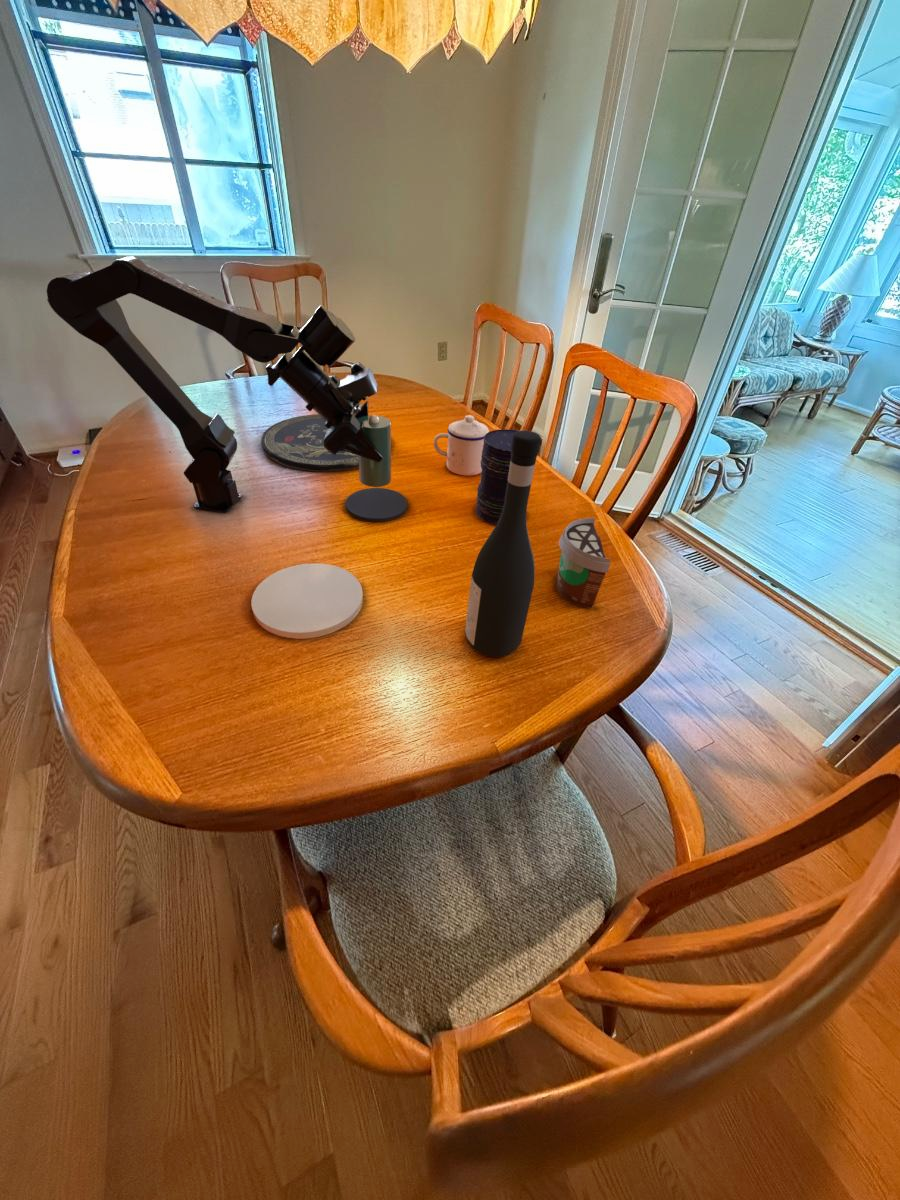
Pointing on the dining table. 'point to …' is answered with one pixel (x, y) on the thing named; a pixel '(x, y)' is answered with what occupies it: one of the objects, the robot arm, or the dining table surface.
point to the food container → (581, 563)
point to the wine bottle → (505, 563)
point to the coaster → (376, 505)
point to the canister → (381, 439)
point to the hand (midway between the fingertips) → (382, 452)
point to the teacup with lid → (464, 446)
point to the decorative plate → (304, 445)
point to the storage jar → (494, 474)
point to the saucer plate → (307, 600)
